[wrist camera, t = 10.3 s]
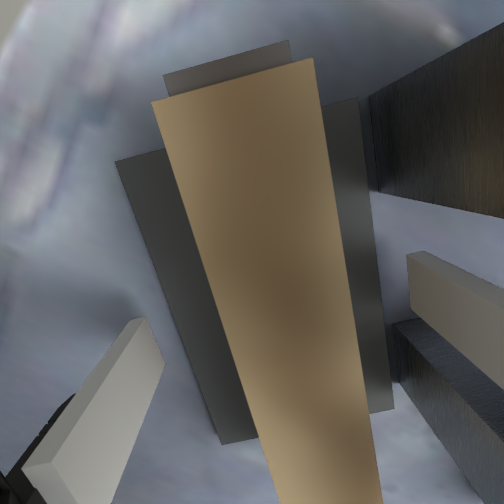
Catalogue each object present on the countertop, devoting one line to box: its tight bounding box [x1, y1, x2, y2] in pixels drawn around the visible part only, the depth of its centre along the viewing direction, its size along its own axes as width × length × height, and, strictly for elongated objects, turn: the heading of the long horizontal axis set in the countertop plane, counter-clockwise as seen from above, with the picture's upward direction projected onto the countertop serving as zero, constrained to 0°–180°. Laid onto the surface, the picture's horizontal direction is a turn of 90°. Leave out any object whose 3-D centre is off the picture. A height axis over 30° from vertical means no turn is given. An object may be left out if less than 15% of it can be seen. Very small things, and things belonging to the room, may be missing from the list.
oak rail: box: [151, 40, 383, 504], centre depth 11 cm, size 4×18×4 cm, turn 14°
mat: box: [115, 97, 395, 445], centre depth 14 cm, size 10×16×1 cm, turn 14°
